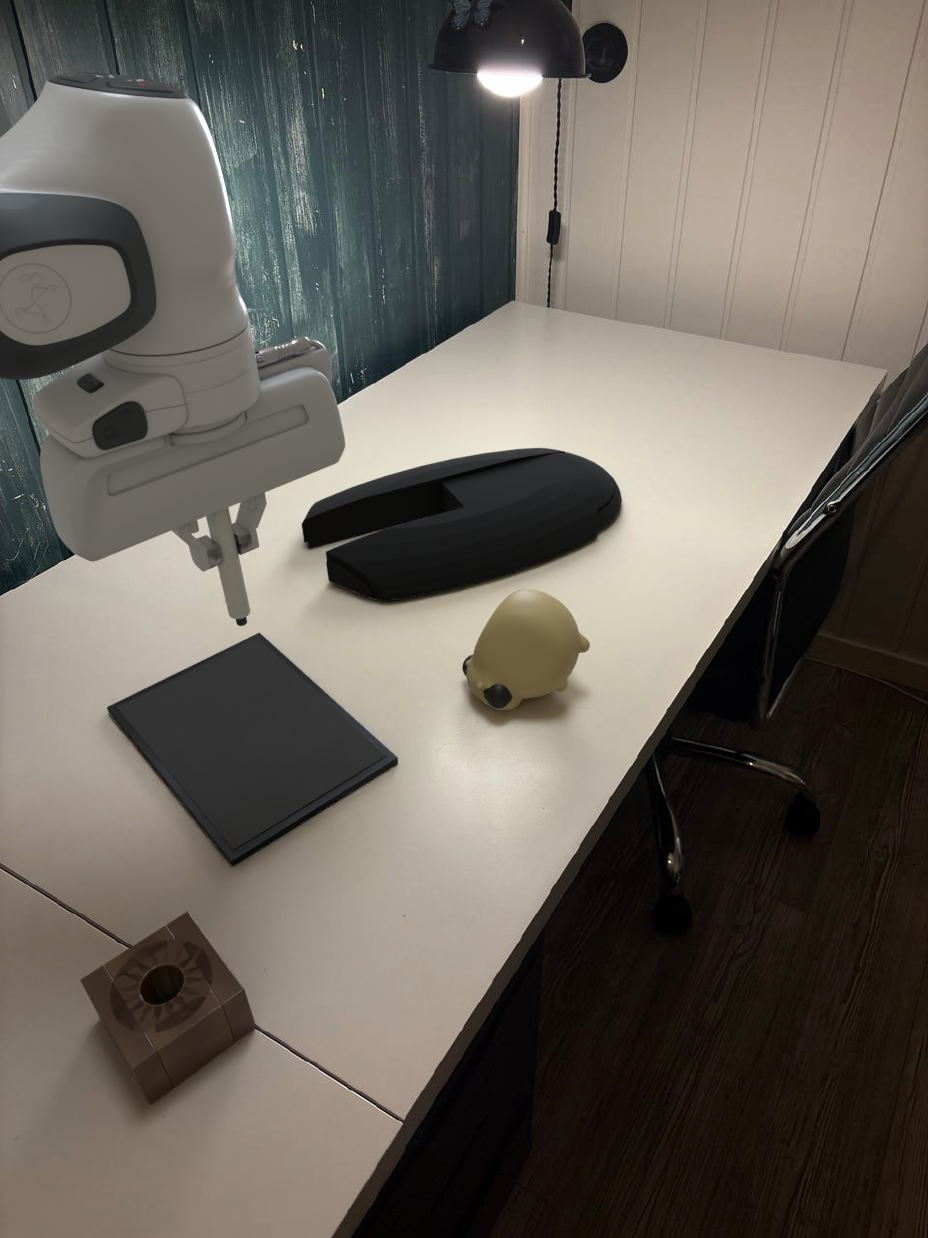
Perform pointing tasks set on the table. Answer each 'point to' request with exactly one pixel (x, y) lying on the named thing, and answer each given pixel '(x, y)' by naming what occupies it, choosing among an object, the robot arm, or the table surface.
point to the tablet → (250, 744)
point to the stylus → (229, 566)
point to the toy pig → (524, 650)
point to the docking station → (461, 520)
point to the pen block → (169, 1005)
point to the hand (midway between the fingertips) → (226, 556)
